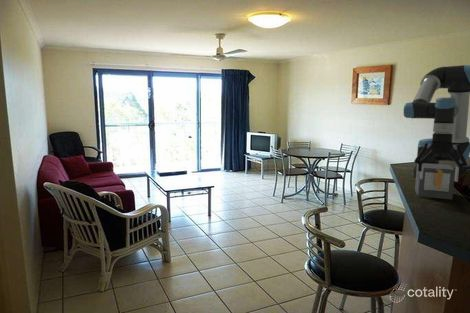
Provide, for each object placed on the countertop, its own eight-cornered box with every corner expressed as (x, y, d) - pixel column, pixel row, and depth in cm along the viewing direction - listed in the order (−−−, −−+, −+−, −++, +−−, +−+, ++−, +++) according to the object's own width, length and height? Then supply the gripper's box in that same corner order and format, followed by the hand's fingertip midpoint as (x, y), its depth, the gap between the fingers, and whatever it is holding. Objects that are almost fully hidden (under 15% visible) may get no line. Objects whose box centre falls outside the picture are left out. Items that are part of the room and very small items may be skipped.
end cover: (420, 183, 170) (422, 163, 168) (443, 185, 166) (445, 165, 165) (425, 193, 152) (427, 170, 151) (451, 195, 149) (453, 172, 147)
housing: (414, 189, 174) (417, 162, 171) (446, 192, 168) (449, 164, 166) (418, 196, 161) (420, 167, 159) (452, 199, 155) (455, 169, 153)
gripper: (411, 132, 150) (408, 179, 153) (478, 134, 141) (473, 184, 144) (410, 131, 157) (406, 176, 160) (474, 133, 148) (469, 180, 151)
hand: (438, 179), depth 152 cm, fingers open, 13 cm apart
